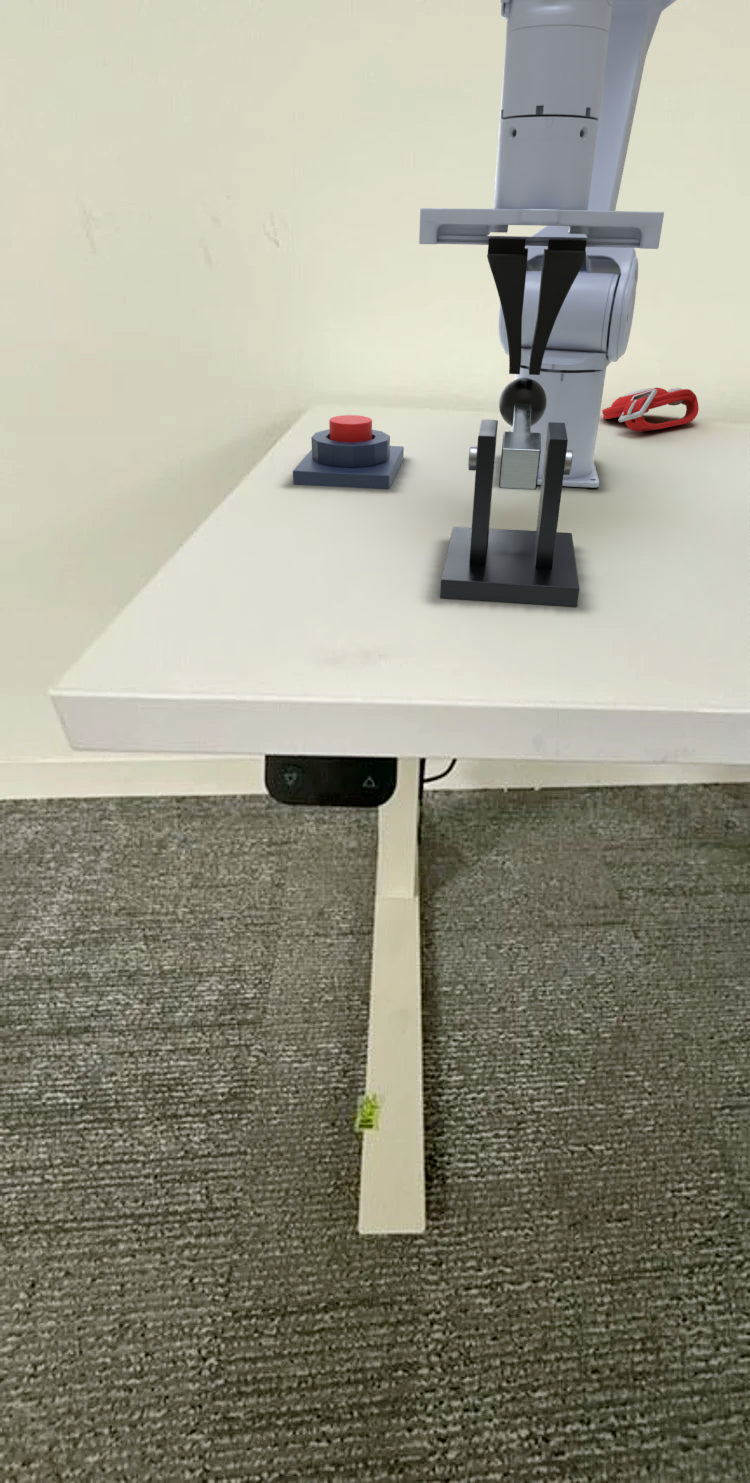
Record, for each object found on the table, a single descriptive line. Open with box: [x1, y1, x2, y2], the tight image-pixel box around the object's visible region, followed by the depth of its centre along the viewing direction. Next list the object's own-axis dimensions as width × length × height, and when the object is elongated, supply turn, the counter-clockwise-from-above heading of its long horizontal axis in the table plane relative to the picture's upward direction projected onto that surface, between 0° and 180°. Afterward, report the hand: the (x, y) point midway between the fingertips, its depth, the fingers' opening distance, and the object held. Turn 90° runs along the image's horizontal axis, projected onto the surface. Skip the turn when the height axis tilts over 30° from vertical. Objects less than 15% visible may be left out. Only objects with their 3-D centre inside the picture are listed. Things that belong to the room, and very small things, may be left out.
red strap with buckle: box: [601, 387, 699, 433], centre depth 91 cm, size 12×4×10 cm
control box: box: [292, 428, 405, 490], centre depth 74 cm, size 10×8×3 cm
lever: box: [498, 378, 547, 491], centre depth 55 cm, size 13×3×3 cm, turn 172°
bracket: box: [439, 419, 580, 608], centre depth 53 cm, size 10×8×9 cm
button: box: [328, 414, 373, 442], centre depth 73 cm, size 4×4×2 cm
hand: (524, 372), depth 57 cm, fingers closed
